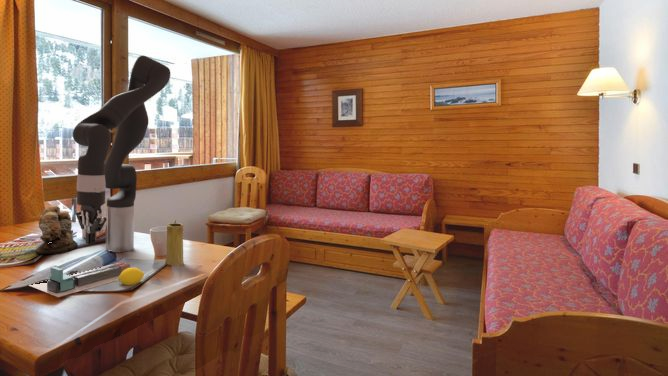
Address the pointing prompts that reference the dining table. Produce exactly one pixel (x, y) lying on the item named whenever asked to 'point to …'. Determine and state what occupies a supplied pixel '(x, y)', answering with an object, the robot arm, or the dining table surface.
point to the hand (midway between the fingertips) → (90, 244)
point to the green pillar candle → (174, 244)
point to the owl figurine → (55, 231)
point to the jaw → (96, 269)
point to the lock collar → (61, 278)
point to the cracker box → (104, 214)
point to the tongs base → (88, 278)
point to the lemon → (131, 276)
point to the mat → (77, 288)
